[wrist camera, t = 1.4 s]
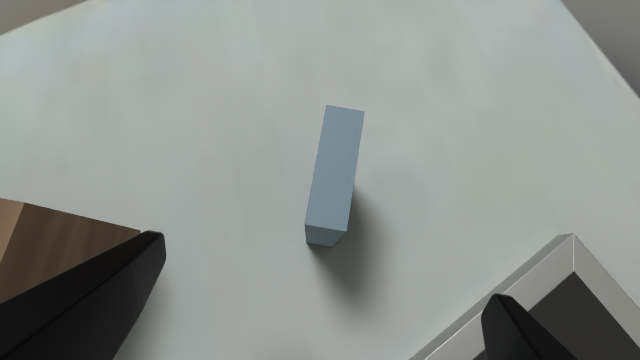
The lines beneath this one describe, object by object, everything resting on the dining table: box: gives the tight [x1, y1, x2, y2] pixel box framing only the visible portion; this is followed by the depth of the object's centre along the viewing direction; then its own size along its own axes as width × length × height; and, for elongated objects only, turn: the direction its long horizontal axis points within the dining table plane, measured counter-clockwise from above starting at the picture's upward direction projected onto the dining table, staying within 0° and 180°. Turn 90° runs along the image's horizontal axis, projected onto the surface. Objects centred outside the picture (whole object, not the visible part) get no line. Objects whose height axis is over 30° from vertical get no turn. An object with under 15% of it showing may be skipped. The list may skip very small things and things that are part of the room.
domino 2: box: [305, 105, 364, 247], centre depth 18 cm, size 2×5×9 cm, turn 170°
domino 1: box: [0, 198, 140, 304], centre depth 16 cm, size 2×5×9 cm, turn 170°
